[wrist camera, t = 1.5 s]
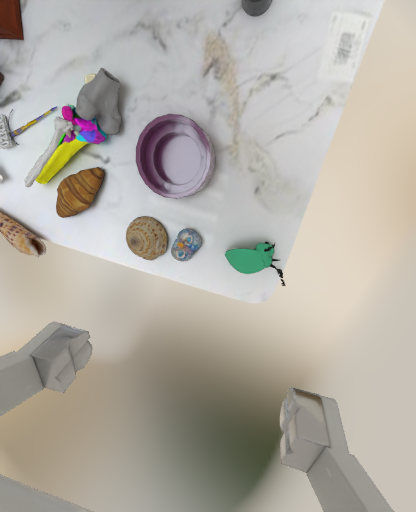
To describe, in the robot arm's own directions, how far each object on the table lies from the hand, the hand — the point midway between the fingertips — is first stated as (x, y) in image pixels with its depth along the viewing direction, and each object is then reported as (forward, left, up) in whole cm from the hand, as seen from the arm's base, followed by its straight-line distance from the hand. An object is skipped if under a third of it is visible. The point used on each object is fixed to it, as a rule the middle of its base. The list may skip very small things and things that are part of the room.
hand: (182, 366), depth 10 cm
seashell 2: (+6, -17, -38) cm, 42 cm away
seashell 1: (+9, -49, -35) cm, 61 cm away
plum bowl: (-9, -12, -38) cm, 40 cm away
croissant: (-1, -31, -38) cm, 49 cm away
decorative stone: (+6, -9, -38) cm, 39 cm away
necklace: (-10, -49, -37) cm, 62 cm away
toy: (+7, +9, -35) cm, 37 cm away
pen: (-13, -41, -38) cm, 57 cm away
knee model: (-11, -31, -38) cm, 50 cm away
